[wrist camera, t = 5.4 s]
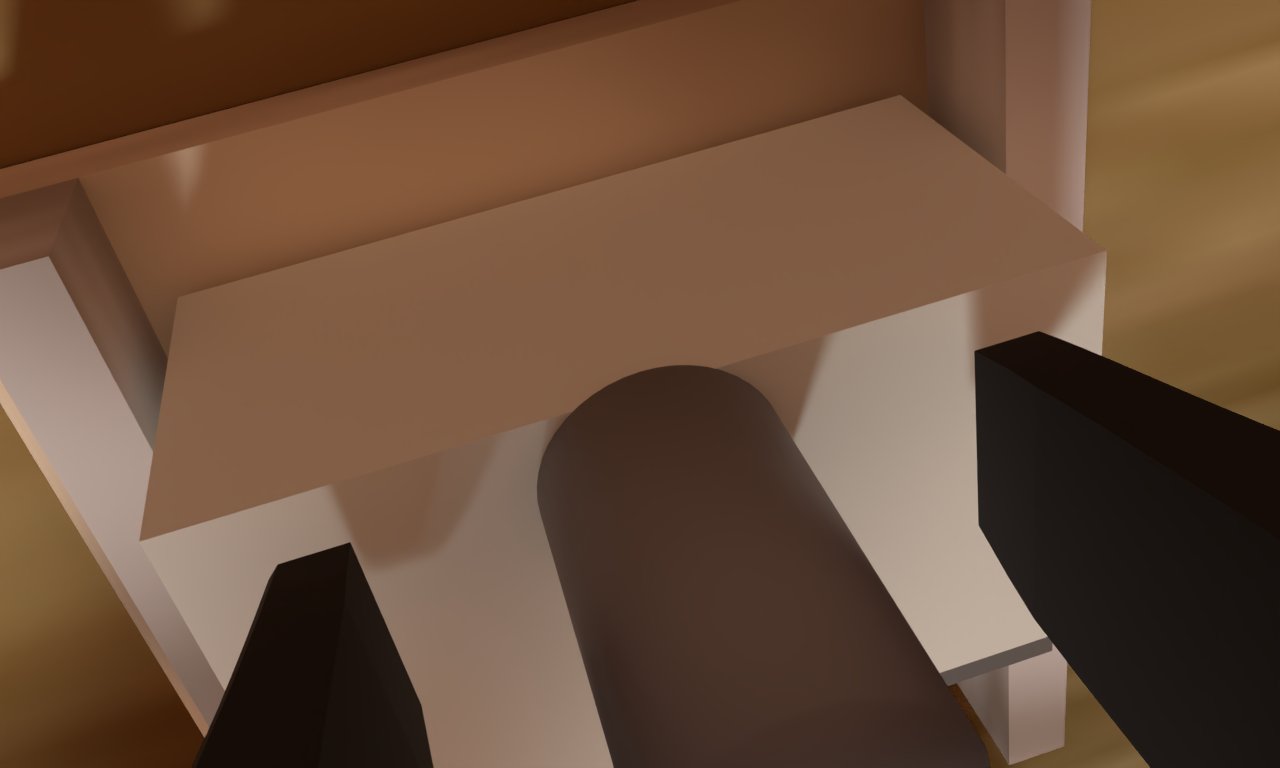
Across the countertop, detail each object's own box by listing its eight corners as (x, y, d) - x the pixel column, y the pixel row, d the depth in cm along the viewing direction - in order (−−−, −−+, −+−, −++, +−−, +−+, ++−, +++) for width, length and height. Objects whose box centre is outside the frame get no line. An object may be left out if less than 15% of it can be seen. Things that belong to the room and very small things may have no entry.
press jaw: (920, 445, 18) (1328, 967, 11) (334, 630, 17) (371, 1328, 10) (899, 79, 15) (1462, 491, 8) (170, 282, 14) (52, 965, 7)
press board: (1027, 607, 22) (1117, 727, 20) (302, 848, 21) (304, 1009, 19) (1032, -105, 15) (1177, -53, 13) (-84, 191, 14) (-165, 315, 11)
